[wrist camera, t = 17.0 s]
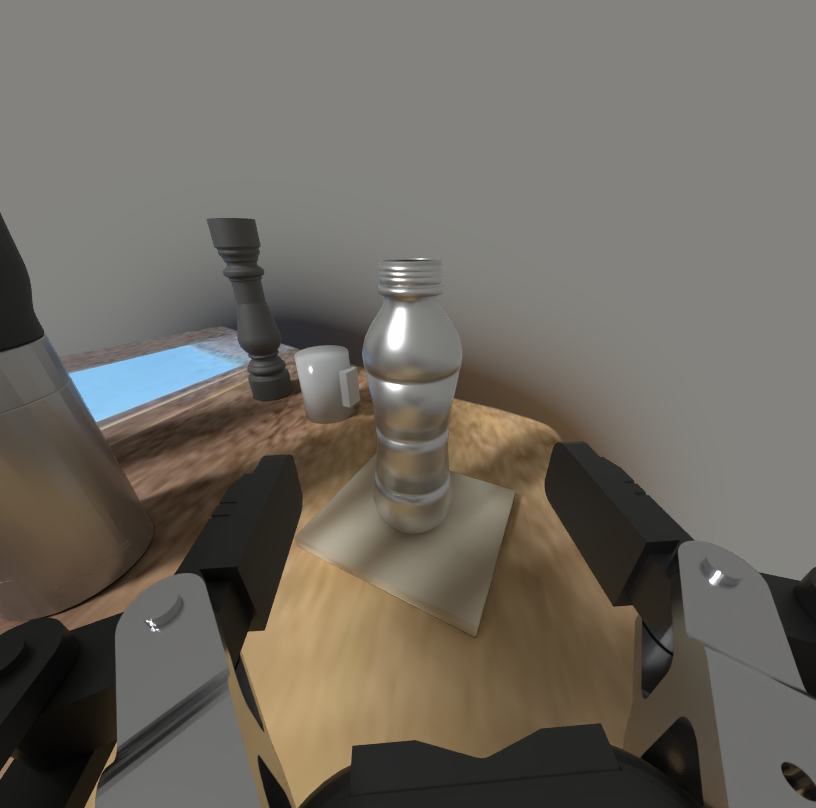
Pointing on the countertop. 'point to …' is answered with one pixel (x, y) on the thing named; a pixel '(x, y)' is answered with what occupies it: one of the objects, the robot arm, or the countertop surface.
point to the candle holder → (251, 306)
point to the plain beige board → (417, 546)
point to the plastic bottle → (412, 394)
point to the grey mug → (327, 383)
